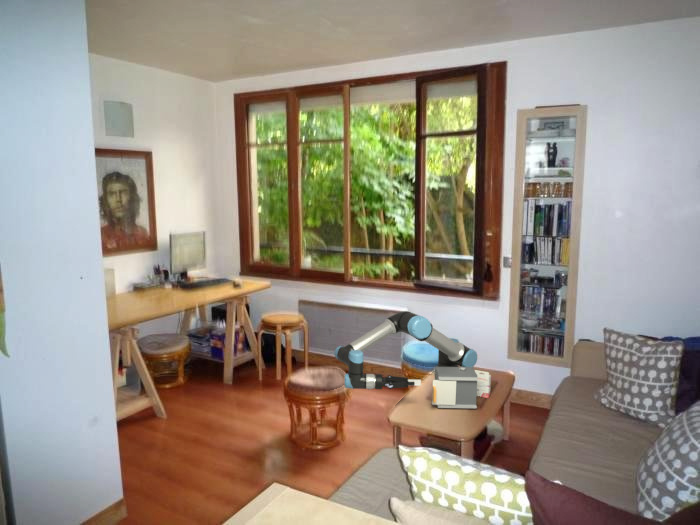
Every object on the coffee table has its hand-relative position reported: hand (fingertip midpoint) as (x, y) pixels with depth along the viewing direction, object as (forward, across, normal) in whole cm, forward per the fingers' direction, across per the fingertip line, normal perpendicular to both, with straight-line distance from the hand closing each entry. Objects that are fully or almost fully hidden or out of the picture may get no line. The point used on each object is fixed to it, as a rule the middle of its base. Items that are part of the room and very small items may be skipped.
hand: (420, 382), depth 258 cm
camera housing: (+20, -9, -14) cm, 26 cm away
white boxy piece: (+13, 0, -12) cm, 17 cm away
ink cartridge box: (+36, -20, -14) cm, 44 cm away
